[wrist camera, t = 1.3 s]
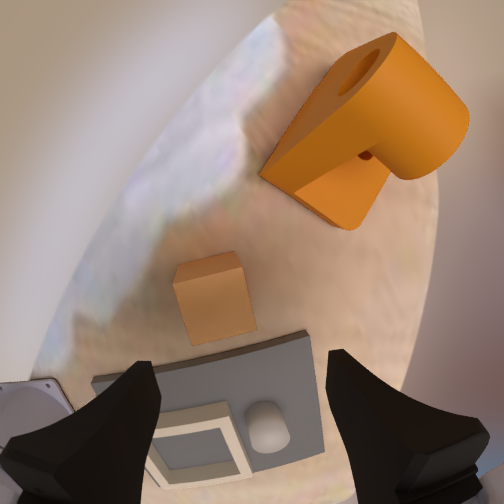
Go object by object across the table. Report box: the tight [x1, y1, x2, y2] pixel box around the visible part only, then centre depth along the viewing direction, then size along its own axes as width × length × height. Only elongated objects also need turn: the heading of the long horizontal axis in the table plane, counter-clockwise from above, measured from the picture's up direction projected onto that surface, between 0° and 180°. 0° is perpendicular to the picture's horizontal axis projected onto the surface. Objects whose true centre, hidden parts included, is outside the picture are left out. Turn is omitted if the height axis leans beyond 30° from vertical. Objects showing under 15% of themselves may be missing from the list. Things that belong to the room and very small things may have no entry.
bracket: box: [259, 32, 469, 230], centre depth 15 cm, size 11×7×12 cm
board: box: [91, 330, 325, 490], centre depth 22 cm, size 18×15×4 cm
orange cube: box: [173, 251, 257, 346], centre depth 19 cm, size 4×4×4 cm
